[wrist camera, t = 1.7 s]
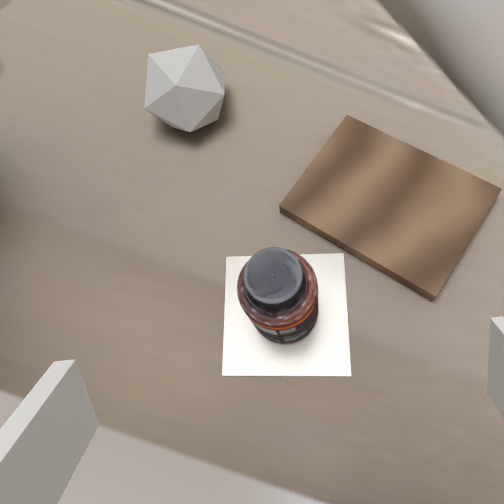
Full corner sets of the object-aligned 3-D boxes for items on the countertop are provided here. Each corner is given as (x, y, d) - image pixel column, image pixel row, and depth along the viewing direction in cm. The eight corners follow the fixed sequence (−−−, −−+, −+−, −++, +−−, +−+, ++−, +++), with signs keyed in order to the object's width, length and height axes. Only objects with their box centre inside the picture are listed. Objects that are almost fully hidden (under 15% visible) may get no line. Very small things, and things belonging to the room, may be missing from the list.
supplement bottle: (286, 267, 41) (276, 215, 31) (332, 313, 39) (338, 274, 29) (238, 311, 40) (211, 272, 30) (283, 360, 38) (270, 337, 28)
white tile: (222, 375, 39) (222, 375, 39) (226, 257, 43) (226, 256, 43) (351, 376, 37) (351, 376, 37) (343, 253, 41) (343, 252, 41)
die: (234, 81, 51) (170, 14, 45) (255, 103, 44) (183, 28, 39) (186, 133, 53) (119, 75, 47) (200, 162, 46) (123, 99, 41)
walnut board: (280, 212, 44) (279, 205, 42) (345, 124, 46) (346, 114, 45) (431, 301, 39) (436, 296, 37) (495, 196, 41) (502, 188, 40)
